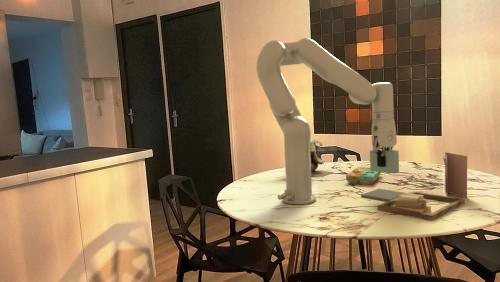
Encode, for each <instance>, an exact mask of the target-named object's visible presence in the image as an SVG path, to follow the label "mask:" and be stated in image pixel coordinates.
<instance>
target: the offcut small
mask: <svg viewBox="0 0 500 282" xmlns="http://www.w3.org/2000/svg"><path fill="white" fill-rule="evenodd" d="M423 199H424V198H423V195H417V194H410V192H404V194H402V195H399V196H398V200H399V201H406V202H412V203H418V202H420V201H422V200H423Z"/></svg>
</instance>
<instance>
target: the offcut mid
mask: <svg viewBox="0 0 500 282" xmlns="http://www.w3.org/2000/svg"><path fill="white" fill-rule="evenodd" d="M426 205H427V198H423V200H422V201H420V202H418V203H412V202H406V201H399V200H398V199H397V200H396V207H402V208H410V209H418V210H422V209H423V208H424V207H425V206H426Z"/></svg>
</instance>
